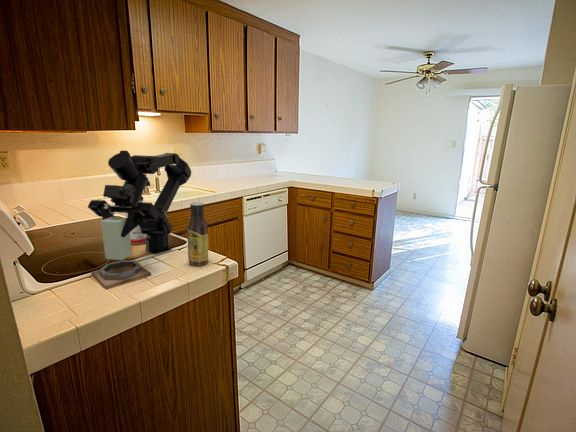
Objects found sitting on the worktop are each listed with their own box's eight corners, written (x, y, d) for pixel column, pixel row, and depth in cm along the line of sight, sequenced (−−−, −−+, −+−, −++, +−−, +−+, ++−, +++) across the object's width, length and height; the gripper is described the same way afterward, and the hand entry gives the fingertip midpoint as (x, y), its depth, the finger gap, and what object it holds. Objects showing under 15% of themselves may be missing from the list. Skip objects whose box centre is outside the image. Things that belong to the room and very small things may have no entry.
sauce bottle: (184, 262, 101) (181, 202, 96) (201, 257, 105) (199, 200, 100) (195, 269, 96) (192, 206, 91) (213, 263, 101) (210, 203, 96)
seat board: (134, 263, 99) (134, 260, 99) (151, 275, 91) (150, 272, 91) (91, 274, 90) (91, 271, 90) (106, 289, 83) (105, 285, 82)
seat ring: (132, 262, 97) (131, 257, 97) (145, 272, 91) (145, 267, 90) (96, 271, 90) (95, 267, 90) (108, 283, 84) (107, 278, 83)
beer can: (150, 242, 118) (146, 201, 113) (133, 246, 113) (128, 203, 109) (143, 238, 122) (140, 198, 118) (126, 242, 117) (122, 200, 113)
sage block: (116, 252, 92) (111, 216, 89) (132, 254, 91) (128, 217, 88) (105, 258, 87) (100, 221, 85) (122, 260, 87) (117, 222, 84)
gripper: (87, 171, 88) (62, 219, 80) (150, 174, 86) (130, 224, 78) (109, 194, 98) (88, 238, 90) (166, 197, 96) (150, 243, 88)
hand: (113, 236), depth 86 cm, fingers closed on sage block, 5 cm apart
